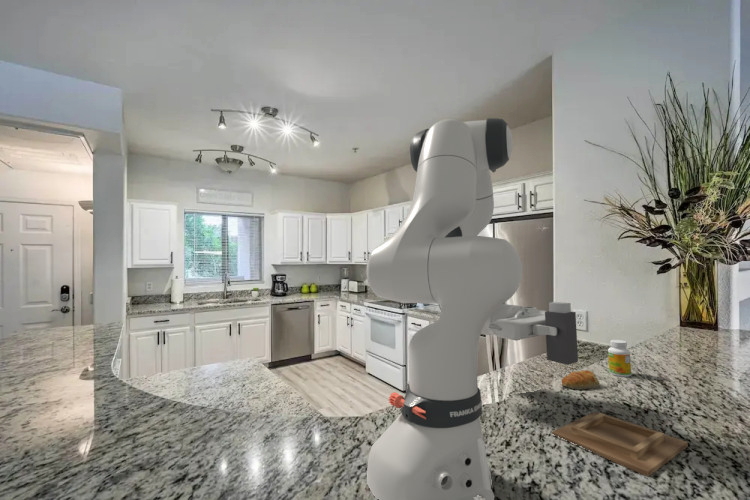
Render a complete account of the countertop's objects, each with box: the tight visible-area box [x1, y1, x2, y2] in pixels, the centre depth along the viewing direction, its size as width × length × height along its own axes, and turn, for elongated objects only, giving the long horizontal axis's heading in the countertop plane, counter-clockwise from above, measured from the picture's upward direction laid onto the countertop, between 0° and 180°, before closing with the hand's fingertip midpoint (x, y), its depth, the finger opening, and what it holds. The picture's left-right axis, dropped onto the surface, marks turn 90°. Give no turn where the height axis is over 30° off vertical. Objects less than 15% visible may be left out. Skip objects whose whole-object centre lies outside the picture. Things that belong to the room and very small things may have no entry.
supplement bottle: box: [607, 339, 632, 378], centre depth 104 cm, size 5×5×10 cm
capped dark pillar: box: [545, 301, 579, 366], centre depth 79 cm, size 4×5×13 cm
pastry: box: [561, 369, 600, 390], centre depth 96 cm, size 9×7×4 cm
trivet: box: [551, 411, 689, 477], centre depth 66 cm, size 16×16×2 cm
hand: (564, 330), depth 79 cm, fingers closed on capped dark pillar, 4 cm apart
